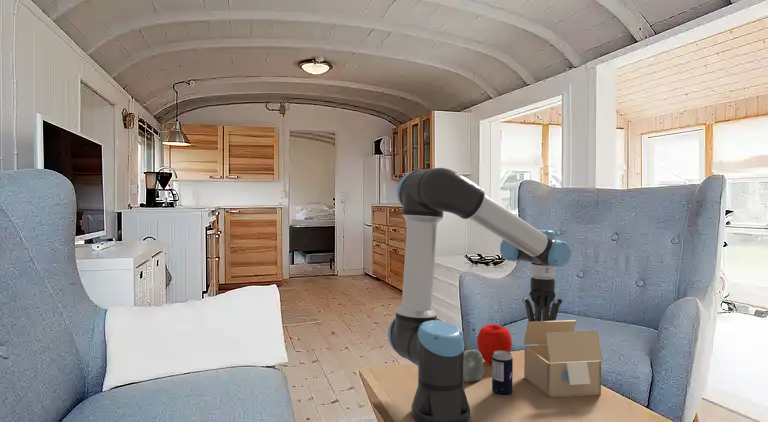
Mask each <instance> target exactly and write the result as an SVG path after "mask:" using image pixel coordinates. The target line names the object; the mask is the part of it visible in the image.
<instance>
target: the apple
mask: <svg viewBox="0 0 768 422" xmlns="http://www.w3.org/2000/svg"><path fill="white" fill-rule="evenodd" d="M476 338H477V340H476V341H477V342H476V344H477V345H476V346H477V350H478V351H479V352H480V353H481V355H482V358H483V361H485V364H487V365H489V366H491V367H492V356H493V355H494V352H495V351H507V352H510V353H511V350H512V345H513V344H512V343H513V342H512V341H513V340H512V335H511V333H510V330H509V329H508V328H506V327H504V326H503V325H499V324H486V325H484V326H482V327H481V328H480V330H479V332H478V334H477V337H476Z"/></svg>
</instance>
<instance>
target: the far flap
mask: <svg viewBox="0 0 768 422" xmlns="http://www.w3.org/2000/svg"><path fill="white" fill-rule="evenodd" d="M576 323H577V320H576V319H570V320H569V319H568V320H567V319H565V320H556V321H542V320H541V321H533V322H529V321H527V324H526V329H525V336H524V341H523V345H525V346H527V345H537V344H538V346H547V342H546V335H545V333H546V332H572V331H575V327H576Z"/></svg>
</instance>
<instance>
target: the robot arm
mask: <svg viewBox="0 0 768 422" xmlns="http://www.w3.org/2000/svg"><path fill="white" fill-rule="evenodd" d="M396 195H397V199H398V202H399V203H400V205H401V206H402V211H401V215H402V217H403V218H404V220H405V221H406V234H405V237H406V238H405V248H404V249H405V251H404V262H403V263H404V264H403V266H404V267H403V281H402V296H401V305H400V306H399V307H398V308H396V310H395V317H394V318H393V320H392V321H391V322H390V323H389V326H388V330H387V337H388V338H387V339H388V342H389V345H390V346H391V348H392V349H393V350H394V351H395V352H396V354H398V355H399V356H400V357H402V358H403V359H406V360H408V361H409V362H411V363H412V364H414V365H416V366H417V373H418V374H417V375H418V376H417V378H418V379H417V380H418V381H417V383H418V384H417V388H416V390H415V394H414V397H413V400H412V403H411V418H412V419H413V420H414V421H415V422H469V421H470V419H471V407H470V404H469V401H468V398H467V397H468V396H467V394H466V391H465V389H464V381H463V360H464V351H465V339H464V334H463V331H462V329H461V328H460V327H459V326H457V325H456V324H454V323H452V322H449V321H446V322H445V321H444V320H437V315H438V313H437V312H436V311H435V310H434V309H433V296H434V295H433V293H434V278H435V277H434V275H435V261H436V249H437V248H436V245H437V229H438V228H437V227H438V223H439V222H441V221H442V220H443V218H444V212H446V213H450V214H454V215H456V216H457V217H459V218H461V219H463V220H468V219H470V220H471V221H473V222H475V223H476V224H478V225H479V226H481V227H483V228H484V229H486V230H487V231H489V232H491V233H492V234H494V235H496V236H497V237H499V238H501V239H502V241H501V243H500V245H499V251H500V255H501V257H502V258H503V259H504V260H505V261H507V262H508V261H509V262H517V261H518V262H519V261H520V262H526V263H530V276H531V278H530V292H529V294H528V296H527V297H523V298H522V303H523V304H524V305H525V306H524V307H525V311H526V316H527V320H528V321H527V322H533V321H557V317H558V312H559V308H560V306H561V304H562V302H563V299H562V298H559V297H558V296H556V293H555V288H556V287H555V286H556V279H555V277H556V268H557V267H558V268H561V267H564V266H566V265H567V264H569V262H570V260H571V258H572V250H571V249H572V248H571V246H570V244H568V243H567V242H566V241H562V240H559V239H557V238H556V232H555V231H554V230H549V229H537V228H536V227H534V226H532V225H531V224H530V223H528V222H527V221H525V220H523V219H522V218H521V217H519V216H518V215H516V214H515V213H513V212H512V211H510V210H509V209H507V207H504V206H503V205H501V204H500V203H498V202H497V201H496V200H494V199H492V198H491V197H489V196H488V195H486V192H485V190H484V188H483V187H481V186H480V185H478V184H477V183H475V182H474V181H472V180H470V179H468V178H467V177H466V176H464V175H462V174H460V173H458V172H456V171H454V170H452V169H449V168H445V167H435V168H419V169H416V170H413V171H409V172H408V173H406V174H405V175H404V176H403V177H402V178H401V179H400V181H399V182H398V185H397V189H396ZM532 303H533V304H534V310H533V307H532V305H533V304H532ZM536 346H538V344H536Z"/></svg>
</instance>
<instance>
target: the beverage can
mask: <svg viewBox="0 0 768 422" xmlns="http://www.w3.org/2000/svg"><path fill="white" fill-rule="evenodd" d="M513 359H514V358H513V356H512V353H511V351H510V352H507V351H495V352H494V355H493V356H492V366H491V368H492V369H491V370H492V371H491V380H492V381H491V391H492V393H493V394H494V395H495V396H496V397H499V398H509V397H510V395H512V394H513V373H514V372H513V368H514V367H513V365H514V364H513V363H514V362H513V361H514V360H513Z"/></svg>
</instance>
